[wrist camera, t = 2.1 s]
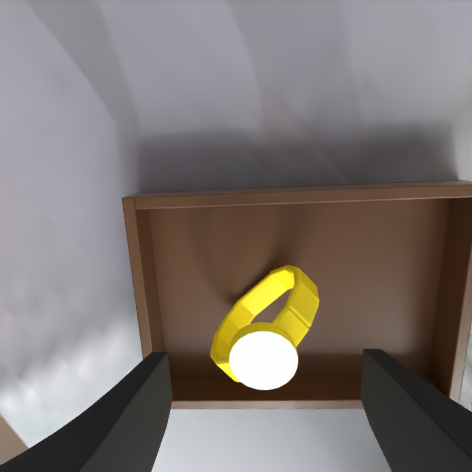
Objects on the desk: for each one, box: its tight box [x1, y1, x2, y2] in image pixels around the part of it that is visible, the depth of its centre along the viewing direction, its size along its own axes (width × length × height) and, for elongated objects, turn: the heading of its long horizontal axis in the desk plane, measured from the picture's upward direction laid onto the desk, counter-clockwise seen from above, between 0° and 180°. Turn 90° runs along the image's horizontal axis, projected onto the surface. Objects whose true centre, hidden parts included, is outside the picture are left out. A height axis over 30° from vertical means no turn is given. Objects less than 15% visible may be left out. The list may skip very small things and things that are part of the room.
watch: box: [210, 265, 319, 390], centre depth 15 cm, size 6×3×6 cm, turn 135°
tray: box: [122, 180, 472, 409], centre depth 17 cm, size 17×12×2 cm
